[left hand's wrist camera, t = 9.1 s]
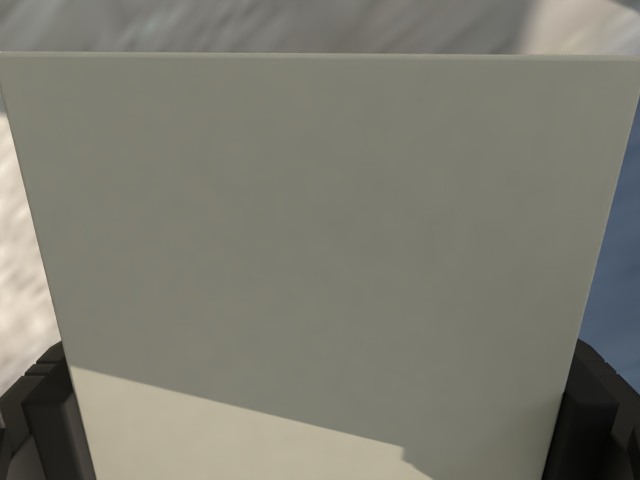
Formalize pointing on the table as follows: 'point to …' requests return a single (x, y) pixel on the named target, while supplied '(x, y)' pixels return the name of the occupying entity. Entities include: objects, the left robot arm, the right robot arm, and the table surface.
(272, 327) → the thick board
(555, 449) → the left robot arm
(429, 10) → the table surface
